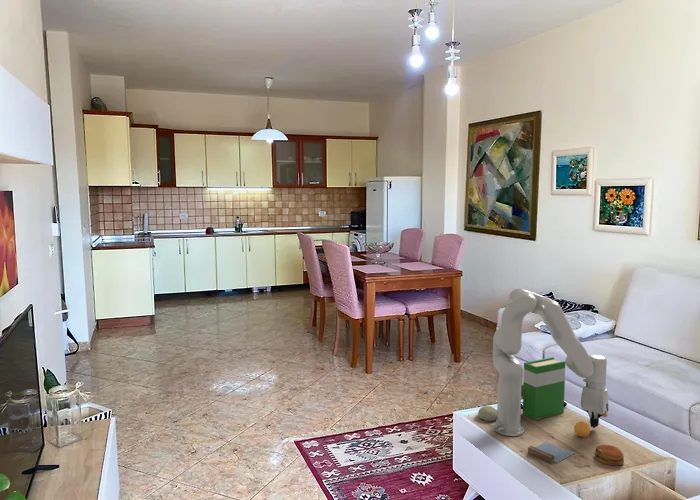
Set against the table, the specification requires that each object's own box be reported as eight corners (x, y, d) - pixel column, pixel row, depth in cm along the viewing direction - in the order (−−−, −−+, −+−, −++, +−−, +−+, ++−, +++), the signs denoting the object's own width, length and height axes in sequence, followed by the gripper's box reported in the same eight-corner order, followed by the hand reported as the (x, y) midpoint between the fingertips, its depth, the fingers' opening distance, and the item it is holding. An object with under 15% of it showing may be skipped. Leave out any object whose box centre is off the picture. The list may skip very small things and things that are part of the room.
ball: (584, 441, 207) (585, 426, 207) (571, 435, 212) (571, 421, 212) (592, 436, 211) (593, 422, 210) (578, 431, 216) (579, 418, 215)
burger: (629, 463, 190) (629, 451, 189) (610, 468, 187) (610, 456, 186) (607, 451, 199) (608, 440, 199) (589, 456, 196) (589, 444, 195)
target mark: (556, 463, 190) (556, 463, 190) (528, 450, 200) (528, 450, 200) (574, 453, 197) (574, 453, 197) (546, 442, 207) (546, 441, 207)
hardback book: (551, 406, 242) (552, 357, 239) (563, 412, 235) (565, 361, 233) (522, 413, 234) (524, 362, 232) (534, 419, 228) (536, 367, 225)
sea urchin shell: (496, 409, 235) (499, 402, 229) (498, 426, 230) (501, 419, 224) (476, 408, 236) (478, 401, 230) (477, 425, 231) (480, 418, 225)
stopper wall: (551, 464, 190) (551, 457, 190) (527, 453, 198) (528, 447, 198) (554, 462, 191) (554, 456, 191) (530, 451, 199) (531, 445, 199)
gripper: (574, 381, 219) (572, 422, 221) (608, 391, 207) (607, 435, 209) (583, 377, 223) (582, 418, 225) (618, 387, 211) (616, 430, 213)
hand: (594, 426), depth 217 cm, fingers closed
